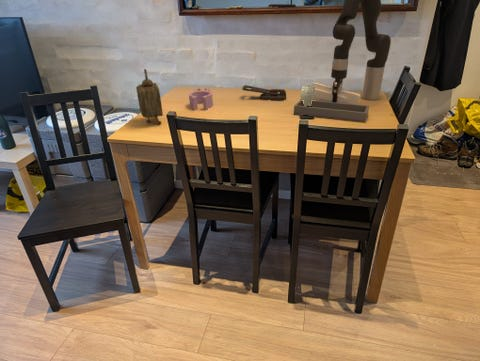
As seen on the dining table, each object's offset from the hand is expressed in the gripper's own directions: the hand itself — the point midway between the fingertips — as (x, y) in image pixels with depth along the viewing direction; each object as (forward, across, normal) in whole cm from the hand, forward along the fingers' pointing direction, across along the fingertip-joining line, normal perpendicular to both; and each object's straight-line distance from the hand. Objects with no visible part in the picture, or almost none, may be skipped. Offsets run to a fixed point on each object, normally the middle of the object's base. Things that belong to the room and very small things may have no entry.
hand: (336, 100), depth 181 cm
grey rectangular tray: (+4, -13, 0) cm, 13 cm away
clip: (+4, -20, +69) cm, 72 cm away
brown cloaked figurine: (+4, -52, +78) cm, 94 cm away
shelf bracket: (+4, 0, +2) cm, 5 cm away
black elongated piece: (+4, +3, +41) cm, 41 cm away
